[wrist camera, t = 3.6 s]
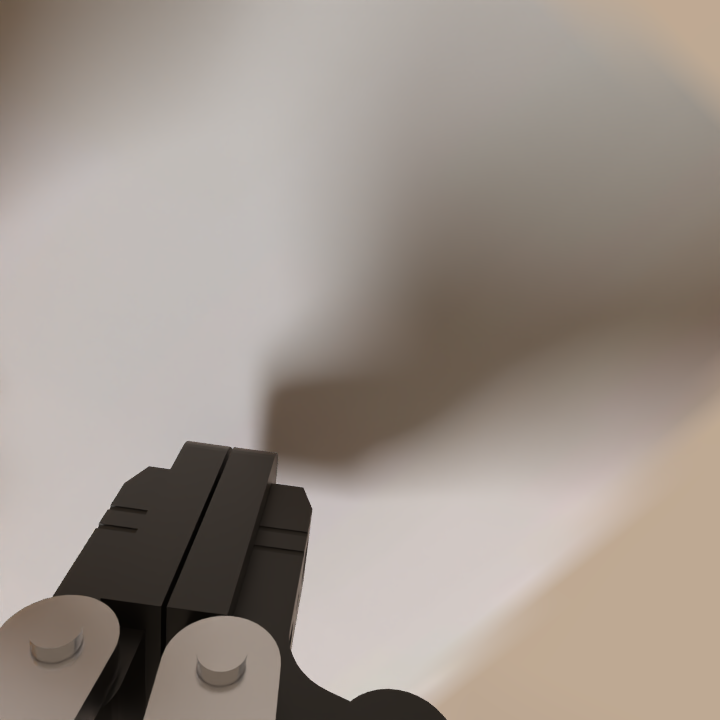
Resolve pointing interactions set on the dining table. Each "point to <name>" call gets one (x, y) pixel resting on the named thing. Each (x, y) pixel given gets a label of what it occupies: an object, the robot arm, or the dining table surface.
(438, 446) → the dining table surface
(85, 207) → the dining table surface
